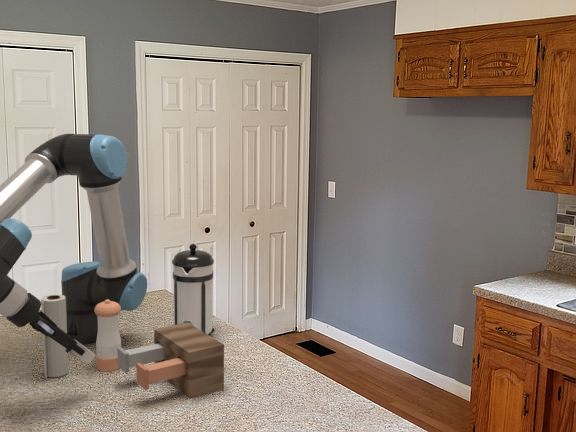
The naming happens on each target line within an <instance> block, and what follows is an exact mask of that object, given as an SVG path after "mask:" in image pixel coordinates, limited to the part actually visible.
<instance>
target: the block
mask: <svg viewBox="0 0 576 432" xmlns="http://www.w3.org/2000/svg"><path fill="white" fill-rule="evenodd" d="M153 338H154V340H153V341H154V342H153V344H158V343H161V344H163V345H164V346H165V359H164V360H160V361H155V362H154V364H155V363H159V362H163V361H168V360H172V359H176V358H180V357H181V358H182V359H184V360H185V361H186V375H183V376H180V377H176V378H172V379H168V380H166V381H167V382H168V383H169V384H170V385H172V386H173V387H174V388H175V389H177V390H178V391H180V392H181V393H182V394H183V395H184V396H185V397H187V398H188V399H192V398H196V397H199V396H203V395H207V394H209V393H213V392H214V393H215V392H217V391H221V390H224V389H225V344H224V343H223V342H221V341H219V340H217V339H216V338H214V337H212V336H210V335H209V334H208V335H207V334H206V333H204V332H202V331H201V330H199V329H197V328H196V327H194V326H192V325H191V324H189V323H182V324H177V325H174V324H173V325H168V326H163V327H159V328H154V329H153Z"/></svg>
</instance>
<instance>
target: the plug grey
mask: <svg viewBox="0 0 576 432" xmlns="http://www.w3.org/2000/svg"><path fill="white" fill-rule="evenodd" d="M117 352H118V367H119V368H120V370H122V372H124V373H125V374H126V373H129V372H130V368H134V367H136V363H141V364H142V365H145V364H151V363H155V361H160V360H164V359H165V346H164V345H163V344H161V343H158V344H154V343H153V344H149V345H145V346H140V347H136V348H131V349H127V350H125V349H124V348H123V347H122V346H121V347H120V348H117Z"/></svg>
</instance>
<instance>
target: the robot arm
mask: <svg viewBox="0 0 576 432" xmlns="http://www.w3.org/2000/svg"><path fill="white" fill-rule="evenodd" d="M128 162H129V160H128V154H127V150H126V147H125V146H124V143H122V141H120V140H119V139H118V138H117V137H115V136H112V135H107V134H106V135H105V134H103V133H102V134H101V133H100V134H99V133H97V134H96V133H93V134H92V133H91V134H84V133H82V134H81V133H64V134H60V135H57V136H55V137H52V138H50V139H48V140H46V141H44V142H43V143H42V144H40V145H39V146H38V147H36V148H35V149H33V150H32V151H31V152H30V153H29V154H28V155H26V157H25V159H24V163H23V164H22V165H21V166H20V167H19V168H18V169H16V171H14V172H13V173H12V174H11V175H10V176H9V177H8V178H6V179H5V180H4V182H2V183H1V184H0V315H1V316H2V317H3V318H6V319H7V321H9V322H10V323H11V324H13V325H15V327H17V328H22V327H25V326H27V325H29V326H31V328H32V329H34V330H35V331H36V332H39V333H41V334H42V335H43V334H44V335H45V336H47V337H50V338H52V339H53V340H55V341H56V342H57V343H59V344H60V345H62V346H63V347H65V348H66V350H65V351H66V352H67V353H68V354H69V352H71V353H72V354H73V355H75V356H76V357H78V358H80V359H81V360H82V361H83V362H84V363H86V364H87V365H89V364H90V363H91V362H92V361H93V360H94V359H95V356H96V353H94V352H93V351H91V350H89V349H88V348H87V347H86V346H84V345H85V344H92V343H96V341H97V333H98V316H97V315H96V314H95V311H94V310H95V307H96V305H97V304H99V303H101V302H104V301H105V300H110V301H113V302H116V303H118V304H119V305H120V307H121V311H122V312H123V311H131V312H132V311H135V310H137V309H138V308H139V307H140V306H141V305H142V303H143V301H144V299H145V297H146V295H147V290H148V279H147V276H146V274H144V273H142V272H138V267H137V264H136V262H135V261H134V260H133V259H131V258H130V253H129V252H130V251H129V244H128V238H127V234H126V228H125V221H124V216H123V210H122V205H121V197H120V192H119V187H118V186H119V185H120V184H121V182H122V180H123V178H122V177H123V176H124V175H125V174H126V173H127V169H128V167H127V165H128ZM62 176H63V177H65V176H76V177H77V178H78V183H79V187H80V188H81V189H84V190H85V191H86V195H87V201H88V205H89V210H90V216H91V222H92V225H93V226H92V228H93V233H94V238H95V242H96V248H97V253H98V258H99V259H98V260H99V261H85V262H84V261H83V262H78V263H74V264H70V265H67V266H65V267H63V269H62V270H61V280H60V282H61V295H64V296H65V297H66V318H67V333H65V332H64V331H63V330H61V329H60V328H59V327H57V325H56V324H55V323H54V322H53V321H52V320H51V319H49V317H48V316H46V314H44V313H43V312H42V310H40V309H42V308H41V299H39V298H38V297H36V296H35V295H34V294H32V293H30V292H28V290H27V289H26V288H24V287H23V286H22V285H20V284H19V283H18V282H17V281H15V280H14V279H13V278H11V277H10V276H9V275H8V274H9V273H10V272H11V270H12V269H13V268H14V266H15V264H16V263H17V261H18V260H19V259H20V257H21V256H22V254H23V253H24V251H26V249H27V247H28V245H29V243H30V241H31V240H32V237H33V234H32V230H31V229H30V227H28V225H27V224H25V223H24V222H23V221H21V220H19V219H16V218H12V217H13V216H15V214H16V213H17V212H18V211H19V210H20V209H21V208H22V207H24V206H25V205H26V203H28V202H29V201H30V200H31V199H32V198H33V196H35V195H36V194H37V193H38V192H39V191H40V190H41V189H42V188H43V187H45V185H46V184H52V183H54V181H56V180H57V179H58V178H60V177H62ZM121 311H120V312H121Z"/></svg>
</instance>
